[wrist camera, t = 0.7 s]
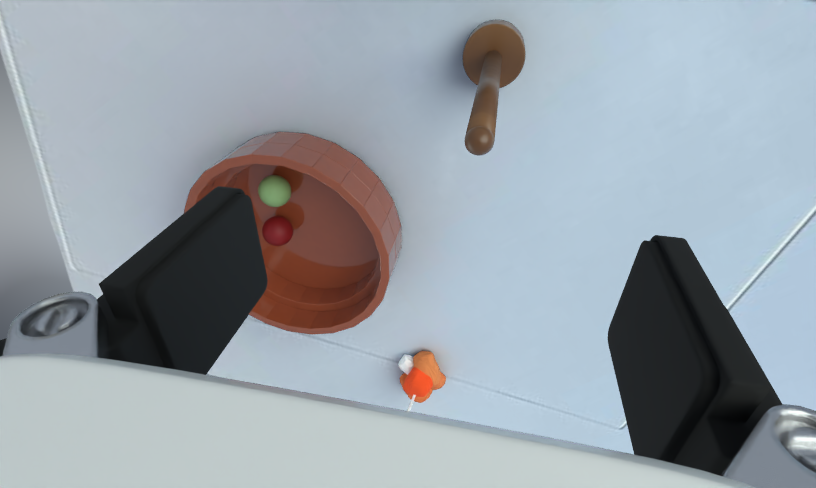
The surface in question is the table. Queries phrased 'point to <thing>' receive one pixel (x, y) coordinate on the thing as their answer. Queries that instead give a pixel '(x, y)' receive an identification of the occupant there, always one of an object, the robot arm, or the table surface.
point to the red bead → (277, 231)
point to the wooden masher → (490, 77)
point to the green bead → (274, 191)
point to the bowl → (315, 230)
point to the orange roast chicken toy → (420, 376)
